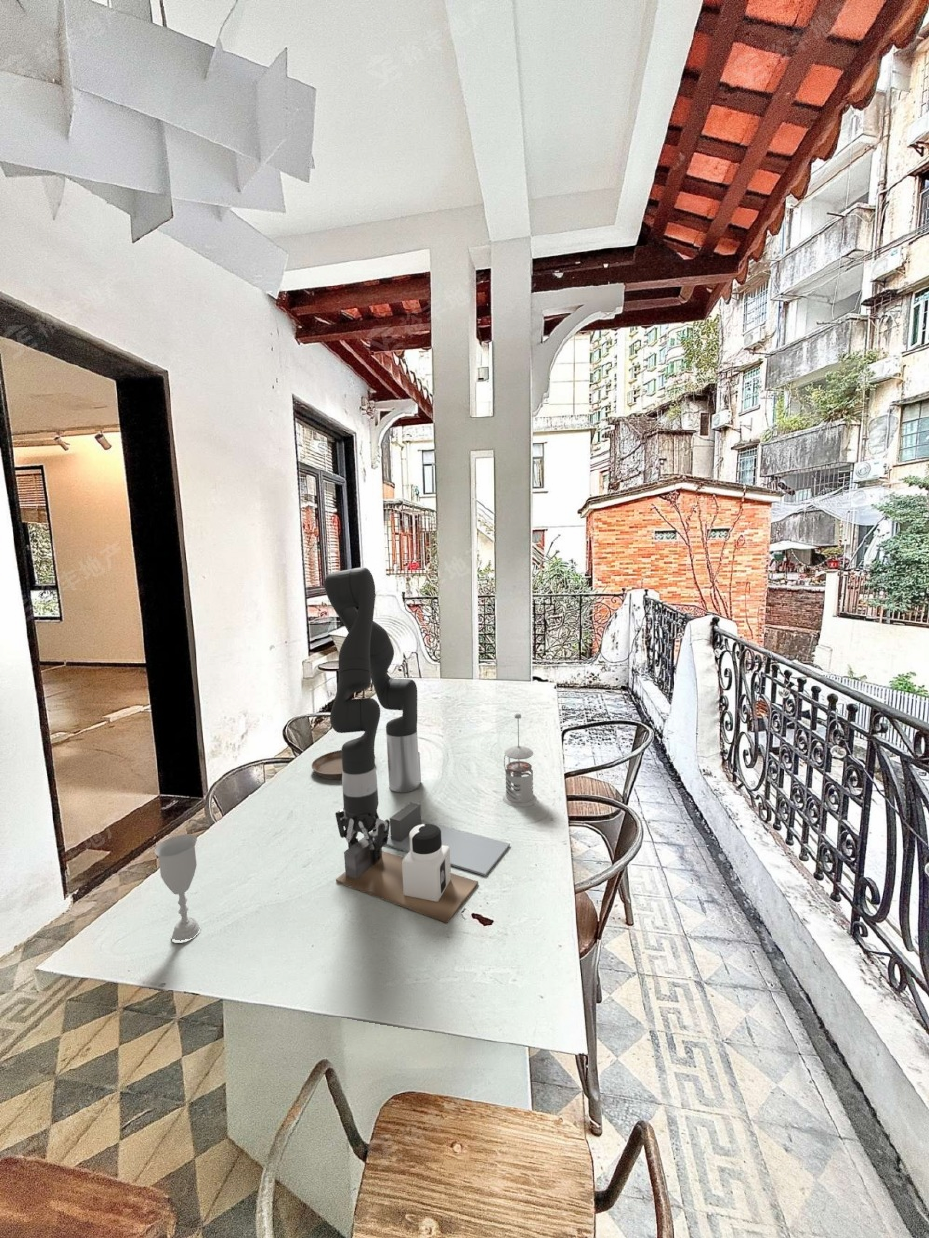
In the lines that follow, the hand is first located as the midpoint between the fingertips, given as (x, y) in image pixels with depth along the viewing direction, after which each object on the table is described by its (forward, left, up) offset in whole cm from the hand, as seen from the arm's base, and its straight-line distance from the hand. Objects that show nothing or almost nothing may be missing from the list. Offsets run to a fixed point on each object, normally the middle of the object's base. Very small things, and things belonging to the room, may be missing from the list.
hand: (364, 858), depth 115 cm
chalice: (+31, -18, -3) cm, 36 cm away
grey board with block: (-16, +12, -2) cm, 20 cm away
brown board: (0, +11, -2) cm, 12 cm away
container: (0, +17, -2) cm, 17 cm away
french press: (-46, +18, -3) cm, 49 cm away
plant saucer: (-40, -42, -3) cm, 58 cm away
